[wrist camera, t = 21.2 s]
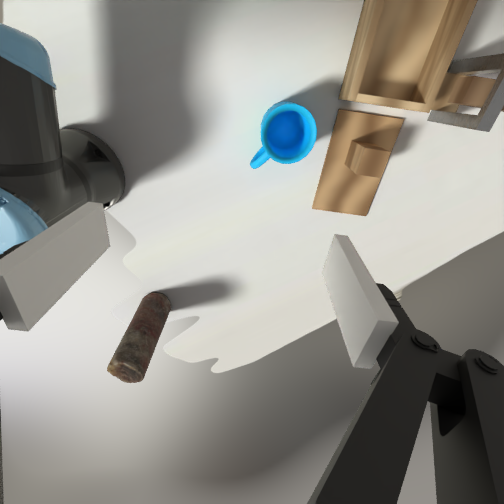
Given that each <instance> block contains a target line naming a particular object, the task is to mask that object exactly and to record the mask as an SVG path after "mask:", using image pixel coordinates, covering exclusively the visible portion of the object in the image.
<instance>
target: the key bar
mask: <svg viewBox="0 0 504 504" xmlns="http://www.w3.org/2000/svg"><path fill="white" fill-rule="evenodd" d="M495 81H496V79H489V78H483V77H477V76H467V77H459V78H458V80H457V83H456V85H455V87H454V89H453V91H452V94H451V96H450V98H449V100H448V102H447V103H453V104H459V105H465V106H471V107H478V108H482V106H483V104H484V102H485V100H486V99H487V97H488V95H489V93H490V91H491V89H492V87H493V85H494V83H495ZM501 111H503V112H504V106H503V108H502V110H501Z"/></svg>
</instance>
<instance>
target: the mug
mask: <svg viewBox="0 0 504 504" xmlns="http://www.w3.org/2000/svg"><path fill="white" fill-rule="evenodd" d="M316 135H317V128H316V123H315V120H314V118H313V116H312V114H311V113H310V112H309V111H308V110H307V109H306V108H304V107H302V106H300V105H298V104H295V103H292V102H280V103H277V104H274V105H273V106H272V107H271V108H269V109H268V111H267V112H266V113H265V115H264V117H263V120H262V123H261V141H262V145H263V147H262V148H261V149H260V150H259V151H258V152H257V153H256V155H255V156H254V157H253V159H252V160H251V162H250V166H251V167H252V168H253V169H256V168H258V167H260V166H261V165H262V164H264V163H265V162H266V161H267V160H268V159H269V158H270V157H271V158H272V159H273V160H274V161H277V162H279V163H282V164H291V163H295V162H298V161H300V160H301V159H303V158H304V157H306V156H307V155H308V153H309V152H310V151H311V150H312V148H313V146H314V143H315V141H316Z"/></svg>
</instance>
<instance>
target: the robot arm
mask: <svg viewBox="0 0 504 504" xmlns="http://www.w3.org/2000/svg"><path fill="white" fill-rule="evenodd" d="M55 90H56V85H55V83H54V82H53V77H52V71H51V65H50V59H49V56H48V53H47V51H46V49H45V48H44V47H43V45H42V44H41V43H40V42H39V41H38V40H36V39H35V38H33V37H32V36H30V35H28V34H26V33H23V32H21V31H19V30H16V29H14V28H12V27H9V26H7V25H4V24H2V23H0V320H1V319H3V320H4V322H5V324H6V326H7V328H8V329H11V330H20V331H29V330H30V329H31V328H32V327H33V326H34V325H35V324H36V323H37V322H38V321H39V320H40V319H41V318H42V317H43V316H44V315H45V314H46V312H47V311H48V310H49V309H50V308H51V307H52V306H53V305H54V304H55V303H56V302H57V301H58V300H59V299H60V298H61V297H62V296H63V295H64V294H65V293H66V291H68V290H69V288H70V287H71V286H72V285H73V284H74V283H75V282H76V281H77V280H78V279H79V278H80V277H81V276H82V275H83V274H84V273H85V272H86V271H87V270H88V269H89V268H90V267H91V266H92V265H93V263H94V262H95V261H96V260H97V259H98V258H99V257H100V256H101V255H102V254H103V253H104V252H105V251H106V250H107V249H108V248H109V247H110V242H109V236H108V231H107V226H106V219H105V214H104V211H105V210H107V209H108V208H110V207H111V206H113V205H114V204H115V203H116V202H118V200H119V199H120V198H121V196H122V194H123V192H124V187H125V177H124V172H123V168H122V166H121V164H120V162H119V160H118V158H117V156H116V155H115V153H114V152H113V151H112V150H111V149H110V148H109V147H108V145H106V144H105V143H104V142H103V141H102V140H100V139H99V138H97V137H96V136H94V135H92V134H90V133H88V132H86V131H83V130H78V129H62V130H60V129H59V121H58V113H57V105H56V97H55ZM322 275H323V278H324V281H325V284H326V287H327V290H328V293H329V296H330V299H331V302H332V305H333V308H334V311H335V314H336V317H337V320H338V323H339V326H340V329H341V332H342V335H343V338H344V341H345V344H346V346H347V350H348V353H349V356H350V359H351V362H352V365H353V367H358V368H368V369H371V368H372V366H373V365H374V363H375V361H376V360H377V361H378V364H379V366H380V370H379V372H378V373H377V375H376V376H375V378H374V380H373V381H372V383H371V386H370V388H369V390H368V392H367V394H366V395H365V397H364V399H363V401H362V403H361V405H360V407H359V408H358V411H357V412H356V414H355V416H354V418H353V420H352V421H351V423H350V425H349V427H348V429H347V431H346V433H345V435H344V437H343V438H342V440H341V442H340V444H339V446H338V448H337V449H336V451H335V453H334V455H333V457H332V459H331V460H330V462H329V464H328V466H327V468H326V470H325V472H324V474H323V475H322V477H321V479H320V481H319V483H318V485H317V487H316V488H315V490H314V492H313V494H312V496H311V498H310V499H309V501H308V503H307V504H397V500H398V497H399V494H400V490H401V487H402V484H403V481H404V477H405V474H406V471H407V467H408V464H409V461H410V457H411V454H412V451H413V447H414V444H415V440H416V437H417V434H418V431H419V428H420V424H421V421H422V418H423V414H424V411H425V408H426V404H427V401H429V402H430V408H431V423H432V437H433V452H434V466H435V480H436V495H437V504H504V366H503V365H502V364H501V363H500V362H499V361H498V360H496V359H495V358H494V357H492V356H490V355H488V354H486V353H484V352H482V351H478V350H475V349H469V350H467V351H466V352H465V353H464V354H463V355H462V356H459V355H456V354H453V353H450V352H448V351H445V350H442V349H441V347H440V346H439V344H438V343H437V342H436V341H435V340H434V339H433V338H432V337H431V336H429V335H428V334H426V333H425V332H422V331H420V330H417V329H416V328H415V327H414V325H413V323H412V322H411V321H410V319H409V317H408V316H407V314H406V313H405V311H404V310H403V308H401V305H400V303H399V302H398V301H397V299H396V297H395V296H394V294H393V293H392V291H391V290H389V289H388V288H387V287H386V286H385V285H384V284H378V283H375V281H374V280H373V278H372V276H371V275H370V273H369V271H368V269H367V268H366V266H365V264H364V263H363V261H362V259H361V258H360V256H359V254H358V253H357V251H356V249H355V247H354V246H353V244H352V242H351V241H350V239H349V237H348V236H345V235H337V234H335V235H334V238H333V241H332V244H331V247H330V250H329V253H328V255H327V258H326V261H325V264H324V267H323V270H322ZM0 504H4V503H3V471H2V442H1V411H0Z"/></svg>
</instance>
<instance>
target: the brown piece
mask: <svg viewBox="0 0 504 504" xmlns="http://www.w3.org/2000/svg"><path fill="white" fill-rule="evenodd" d="M170 307H171V305H170V302H169V301H168V299H167V297H166V296H165V295H163V294H161V293H150V294H149V295H147V296H145V297H144V298H143V299H142V301H141V303H140V305H139V307H138V309H137V311H136V313H135V315H134V317H133V319H132V321H131V323H130V325H129V327H128V329H127V330H126V332H125V335H124V336H123V338H122V340H121V342H120V344H119V346H118V348H117V350H116V351H115V353H114V355H113V358H112V359H111V361H110V363H109V365H108V368H107V371H108V372H110V373H111V374H112V375H113V376H116V377H117V378H119V379H120V380H121V381H124V382H127V383H132V382H133V383H136V382H140V381H142V380H143V378H144V376H145V373H146V371H147V368H148V366H149V363H150V360H151V358H152V355H153V353H154V350H155V347H156V344H157V342H158V340H159V337H160V335H161V332H162V330H163V327H164V325H165V322H166V320H167V317H168V315H169V312H170Z"/></svg>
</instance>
